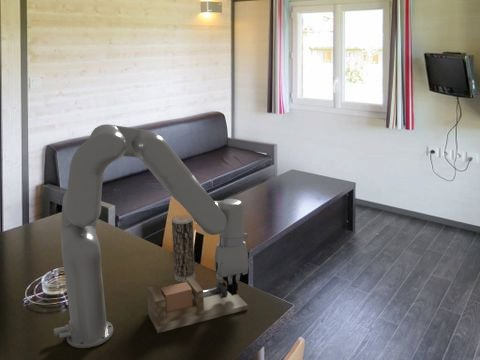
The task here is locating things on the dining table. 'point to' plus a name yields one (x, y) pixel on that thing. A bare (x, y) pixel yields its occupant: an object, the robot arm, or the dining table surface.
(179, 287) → the rectangular block
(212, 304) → the stand
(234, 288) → the robot arm
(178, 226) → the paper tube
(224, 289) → the shaft
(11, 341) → the dining table surface
